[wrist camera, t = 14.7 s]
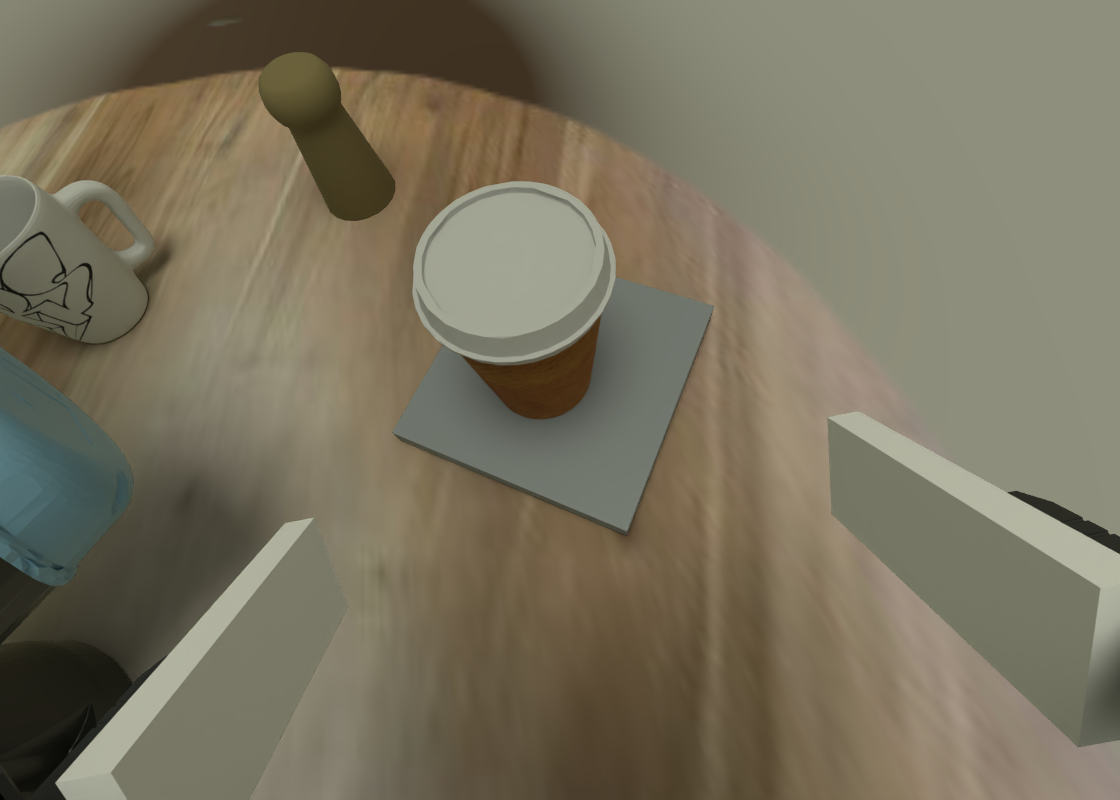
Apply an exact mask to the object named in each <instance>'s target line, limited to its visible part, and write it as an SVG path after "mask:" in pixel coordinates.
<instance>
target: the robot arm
mask: <svg viewBox="0 0 1120 800" xmlns="http://www.w3.org/2000/svg"><path fill="white" fill-rule="evenodd" d="M827 418H828V442H829V465H830V489H831V513H832V515H833V516H834V517H835V518H836V519H838V520H839V521H840V522H841V523H842V524H843V525H844V526H845V527H846V528H847V529H848V530H849V531H850V532H851V533H852V534H853V535H854V536H855V537H857V538H858V539H859V540H860V541H861V542H862V543H863V544H864V545H865V546H866V547H867V548H868V549H869V550H870V551H871V552H872V553H873V554H874V555H876V556H877V557H878V558H879V559H880V560H881V561H882V562H883V563H884V564H885V565H886V566H887V567H888V568H889V569H890V570H891V571H892V572H894V573H895V574H896V575H897V576H898V577H899V578H900V579H901V580H902V581H903V582H904V583H905V584H906V585H907V586H908V587H909V588H910V589H911V590H913V591H914V592H915V593H916V594H917V595H918V596H919V597H920V598H921V599H922V600H923V601H924V602H925V603H926V604H927V605H928V606H929V607H930V608H932V609H933V610H934V611H935V612H936V613H937V614H938V615H939V616H940V617H941V618H942V619H943V620H944V621H945V622H946V623H947V624H948V625H950V626H951V627H952V628H953V629H954V630H955V631H956V632H957V633H958V634H959V635H960V636H961V637H962V638H963V639H964V640H965V641H966V642H967V643H969V644H970V645H971V646H972V647H973V648H974V649H975V650H976V651H977V652H978V653H979V654H980V655H981V656H982V657H983V658H984V659H985V660H987V661H988V662H989V663H990V664H991V665H992V666H993V667H994V668H995V669H996V670H997V671H998V672H999V673H1000V674H1001V675H1002V676H1003V677H1004V678H1006V679H1007V680H1008V681H1009V682H1010V683H1011V684H1012V685H1013V686H1014V687H1015V688H1016V689H1017V690H1018V691H1019V692H1020V693H1021V694H1022V695H1023V696H1025V697H1026V698H1027V699H1028V700H1029V701H1030V702H1031V703H1032V704H1033V705H1034V706H1035V707H1036V708H1037V709H1038V710H1039V711H1040V712H1041V713H1043V714H1044V715H1045V716H1046V717H1047V718H1048V719H1049V720H1050V721H1051V722H1052V723H1053V724H1054V725H1055V726H1056V727H1057V728H1058V729H1059V730H1060V731H1062V732H1063V733H1064V734H1065V735H1066V736H1067V737H1068V738H1069V739H1070V740H1071V741H1072V742H1073V743H1074V744H1075V745H1076V746H1077V747H1082V746H1088V745H1093V744H1099V743H1104V742H1110V741H1116V740H1120V537H1119V536H1117V535H1116V534H1111V535H1110V534H1109V533H1108V530H1106V529H1104V528H1102V527H1100V526H1098V525H1096V524H1094V523H1092V522H1090V521H1084V520H1083V518H1082V517H1081V516H1079V515H1077V514H1075V513H1073V512H1071V511H1069V510H1067V509H1065V508H1063V507H1061V506H1059V505H1057V504H1055V503H1054V502H1051V501H1047V500H1044V499H1041V498H1038V497H1035V496H1031V495H1028V494H1025V493H1021V492H1018V491H1014V492H1008V493H1007V492H1004V491H1003V490H1001V489H999V488H997V487H996V486H994V485H992V484H990V483H988V482H986V481H985V480H983V479H981V478H979V477H977V476H975V475H974V474H972V473H970V472H968V471H966V470H965V469H963V468H961V467H959V466H957V465H955V464H954V463H952V462H950V461H948V460H946V459H944V458H943V457H941V456H939V455H937V454H935V453H933V452H932V451H930V450H928V449H926V448H924V447H922V446H921V445H919V444H917V443H915V442H913V441H911V440H910V439H908V438H906V437H904V436H902V435H900V434H899V433H897V432H895V431H893V430H891V429H890V428H888V427H886V426H884V425H882V424H880V423H879V422H877V421H875V420H873V419H871V418H869V417H868V416H866V415H864V414H862V413H860V412H858V411H857V412H852V413H847V414H842V415H837V416H832V417H827ZM133 484H134V482H133V474H132V470H131V467H130V465H129V463H128V461H127V459H126V457H125V456H124V454H123V453H122V451H121V450H120V449H119V447H118V446H117V445H116V444H115V442H114V441H113V440H112V439H111V438H110V437H109V436H108V435H107V433H106V432H105V431H104V430H103V429H102V428H101V427H100V426H99V425H98V424H97V423H95V422H94V421H93V420H92V419H91V418H90V417H89V416H88V415H87V414H86V413H85V412H83V411H82V410H81V409H80V408H79V407H78V406H77V405H76V404H74V403H73V402H72V401H71V400H70V399H68V398H67V397H66V396H65V395H63V394H62V393H61V392H60V391H59V390H57V389H56V388H55V387H53V386H52V385H51V384H50V383H48V382H47V381H46V380H45V379H43V378H42V377H41V376H39V375H38V374H37V373H35V372H34V371H33V370H31V369H30V368H29V367H27V366H26V365H25V364H23V363H22V362H20V361H19V360H18V359H16V358H15V357H14V356H12V355H11V354H9V353H8V352H7V351H5V350H4V349H2V348H1V347H0V644H1V643H2V642H3V641H4V640H5V639H6V638H7V637H8V636H9V635H10V634H11V633H12V632H13V631H14V630H15V629H16V628H17V627H18V626H19V625H20V624H21V623H22V622H23V621H24V620H25V619H26V618H27V617H28V615H29V614H30V613H31V612H32V611H33V610H34V609H35V608H36V607H37V606H38V605H39V604H40V603H41V602H42V601H43V600H44V599H45V598H46V597H47V596H48V595H49V594H50V593H51V592H52V591H53V590H54V589H55V588H56V587H57V586H62V585H65V584H67V583H68V582H69V581H70V580H71V579H72V578H73V577H74V576H75V573H76V571H77V568H78V563H79V562H80V561H81V560H82V559H83V557H84V556H85V555H86V554H87V553H88V552H89V551H90V550H91V549H92V547H93V546H94V545H95V544H96V543H97V542H98V541H99V540H100V538H101V537H102V536H103V535H104V534H105V533H106V532H107V531H108V530H109V528H110V527H111V526H112V525H113V524H114V523H115V522H116V521H117V519H118V518H119V517H120V516H121V515H122V513H123V512H124V511H125V510H126V508H127V506H128V505H129V502H130V500H131V497H132V493H133ZM347 608H348V604H347V602H346V599H345V596H344V594H343V591H342V588H341V586H340V583H339V581H338V578H337V575H336V573H335V570H334V567H333V565H332V562H331V560H330V557H329V554H328V552H327V549H326V546H325V544H324V541H323V539H322V536H321V533H320V531H319V528H318V526H317V523H316V520H315V518H309V519H304V520H299V521H294V522H289V523H285V524H284V525H283V526H282V527H281V528H280V530H279V531H278V532H277V533H276V534H275V535H274V536H273V537H272V539H271V540H270V541H269V542H268V543H267V544H266V545H265V546H264V548H263V549H262V550H261V551H260V552H259V553H258V554H257V555H256V557H255V558H254V559H253V560H252V561H251V562H250V563H249V565H248V566H247V567H246V568H245V569H244V570H243V571H242V572H241V574H240V575H239V576H238V577H237V578H236V579H235V580H234V581H233V583H232V584H231V585H230V586H229V587H228V588H227V589H226V590H225V592H224V593H223V594H222V595H221V596H220V597H219V598H218V600H217V601H216V602H215V603H214V604H213V605H212V606H211V607H210V609H209V610H208V611H207V612H206V613H205V614H204V615H203V616H202V618H201V619H200V620H199V621H198V622H197V623H196V624H195V626H194V627H193V628H192V629H191V630H190V631H189V632H188V633H187V635H186V636H185V637H184V638H183V639H182V640H181V641H180V642H179V644H178V645H177V646H176V647H175V648H174V649H173V650H172V651H171V653H170V654H169V655H167V656H165V657H164V658H163V659H161V660H160V661H159V662H158V663H156V664H155V665H154V666H153V667H151V668H150V669H149V670H147V671H146V672H145V673H144V674H142V675H141V676H140V677H139V678H138V679H137V680H136V681H135V682H134V683H133V684H132V685H131V684H130V682H129V681H128V679H127V677H126V675H125V674H124V672H123V671H122V670H121V668H120V667H119V666H118V665H117V664H116V663H115V662H114V661H113V660H112V659H111V658H110V657H109V656H107V655H106V654H105V653H103V652H101V651H100V650H98V649H96V648H94V647H92V646H89V645H86V644H83V643H78V642H73V641H24V642H15V643H9V644H3V645H0V800H249V798H250V796H251V794H252V792H253V790H254V788H255V787H256V785H257V783H258V781H259V779H260V777H261V775H262V773H263V771H264V769H265V767H266V765H267V763H268V761H269V759H270V757H271V755H272V754H273V752H274V750H275V748H276V746H277V744H278V742H279V740H280V738H281V736H282V734H283V732H284V730H285V728H286V726H287V724H288V722H289V721H290V719H291V717H292V715H293V713H294V711H295V709H296V707H297V705H298V703H299V701H300V699H301V697H302V695H303V693H304V691H305V689H306V688H307V686H308V684H309V682H310V680H311V678H312V676H313V674H314V672H315V670H316V668H317V666H318V664H319V662H320V660H321V658H322V656H323V655H324V653H325V651H326V649H327V647H328V645H329V643H330V641H331V639H332V637H333V635H334V633H335V631H336V629H337V627H338V625H339V623H340V622H341V620H342V618H343V616H344V614H345V612H346V610H347Z"/></svg>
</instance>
